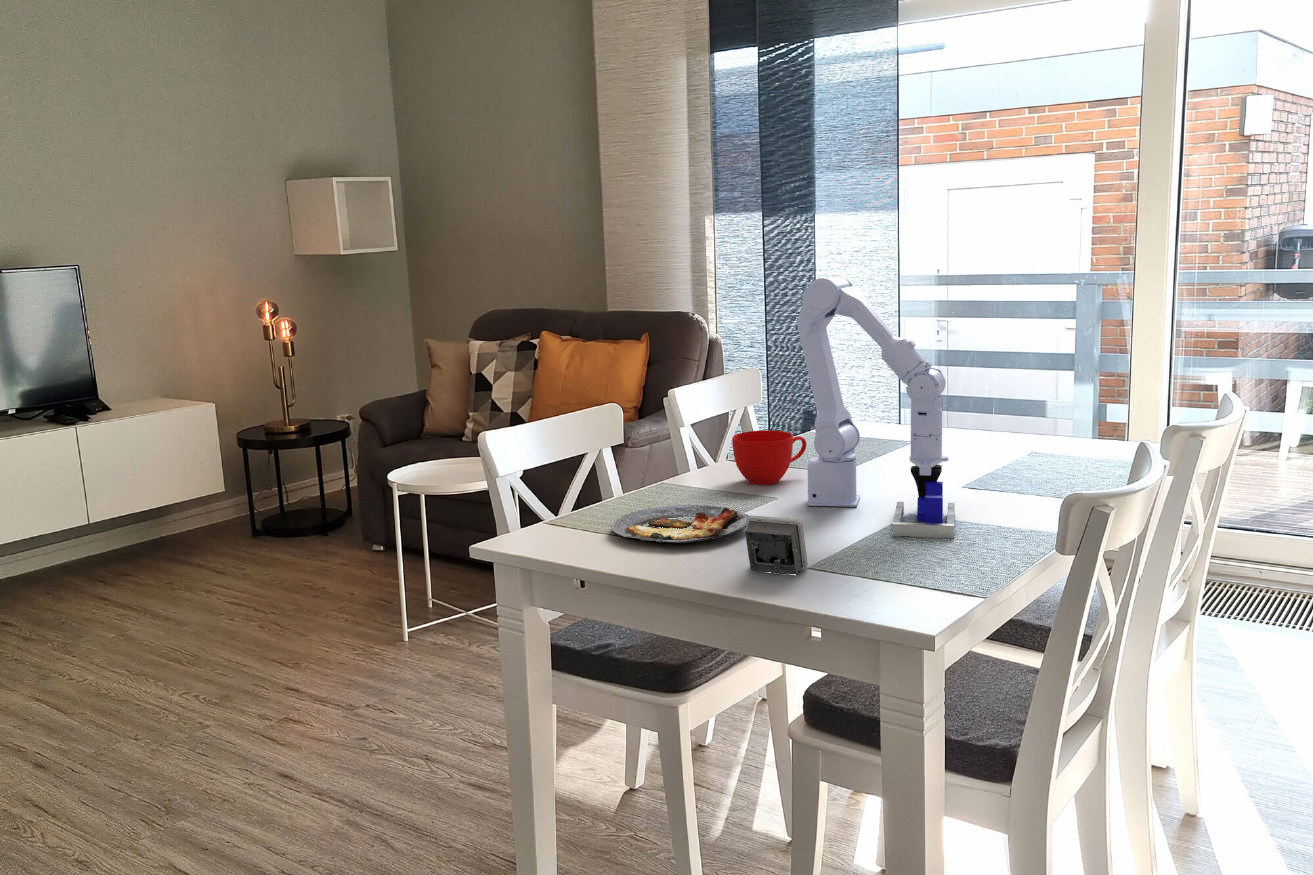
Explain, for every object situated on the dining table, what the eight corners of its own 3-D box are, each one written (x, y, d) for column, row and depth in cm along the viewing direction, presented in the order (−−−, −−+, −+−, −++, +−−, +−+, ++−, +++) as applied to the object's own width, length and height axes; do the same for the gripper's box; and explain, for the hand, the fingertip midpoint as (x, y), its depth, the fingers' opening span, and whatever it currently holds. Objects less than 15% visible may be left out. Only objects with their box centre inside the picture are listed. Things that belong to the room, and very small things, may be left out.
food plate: (770, 521, 202) (769, 502, 201) (713, 557, 182) (711, 537, 182) (655, 512, 215) (654, 495, 214) (590, 545, 195) (588, 526, 194)
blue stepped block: (917, 512, 203) (917, 481, 202) (942, 512, 202) (942, 481, 201) (916, 530, 192) (916, 497, 190) (942, 530, 190) (942, 497, 189)
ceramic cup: (821, 481, 230) (820, 435, 229) (750, 491, 224) (748, 444, 223) (792, 469, 242) (790, 426, 240) (723, 479, 236) (722, 434, 234)
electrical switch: (808, 569, 173) (805, 515, 171) (799, 582, 169) (795, 527, 166) (753, 564, 177) (750, 511, 175) (742, 577, 173) (738, 522, 170)
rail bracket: (892, 536, 189) (892, 524, 188) (897, 512, 203) (897, 501, 203) (953, 538, 186) (954, 525, 186) (954, 514, 200) (954, 502, 200)
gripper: (948, 441, 194) (947, 514, 196) (948, 426, 207) (948, 494, 210) (907, 441, 196) (908, 513, 198) (911, 426, 209) (911, 494, 212)
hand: (926, 504), depth 204 cm, fingers closed
